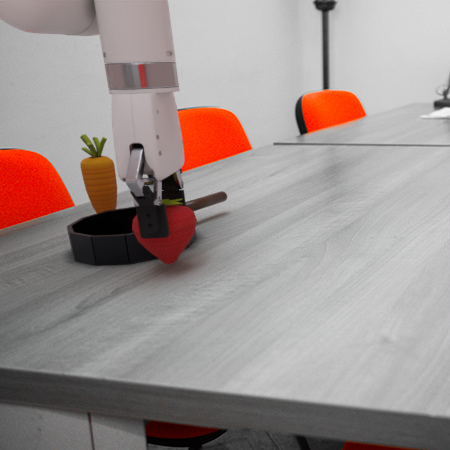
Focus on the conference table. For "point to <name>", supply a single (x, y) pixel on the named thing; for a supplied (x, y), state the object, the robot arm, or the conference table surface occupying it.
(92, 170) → the carrot
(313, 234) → the conference table surface
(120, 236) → the pan
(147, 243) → the strawberry
